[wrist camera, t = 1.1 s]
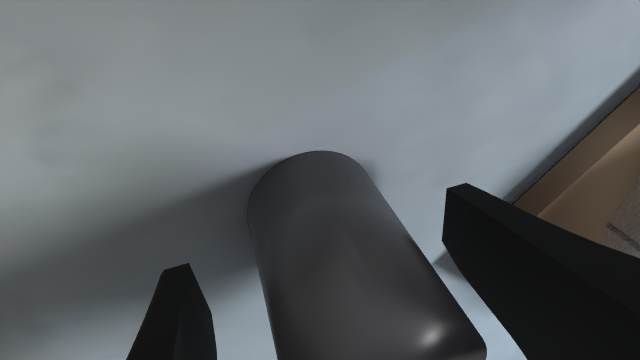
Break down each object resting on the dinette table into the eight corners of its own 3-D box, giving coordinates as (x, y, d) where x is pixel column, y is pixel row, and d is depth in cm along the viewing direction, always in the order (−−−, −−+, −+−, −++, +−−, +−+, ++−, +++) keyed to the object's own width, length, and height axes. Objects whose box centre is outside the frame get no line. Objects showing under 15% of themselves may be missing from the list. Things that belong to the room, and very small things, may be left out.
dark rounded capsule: (303, 125, 11) (401, 300, 6) (395, 187, 13) (520, 350, 8) (220, 228, 12) (247, 444, 7) (318, 268, 14) (388, 453, 9)
